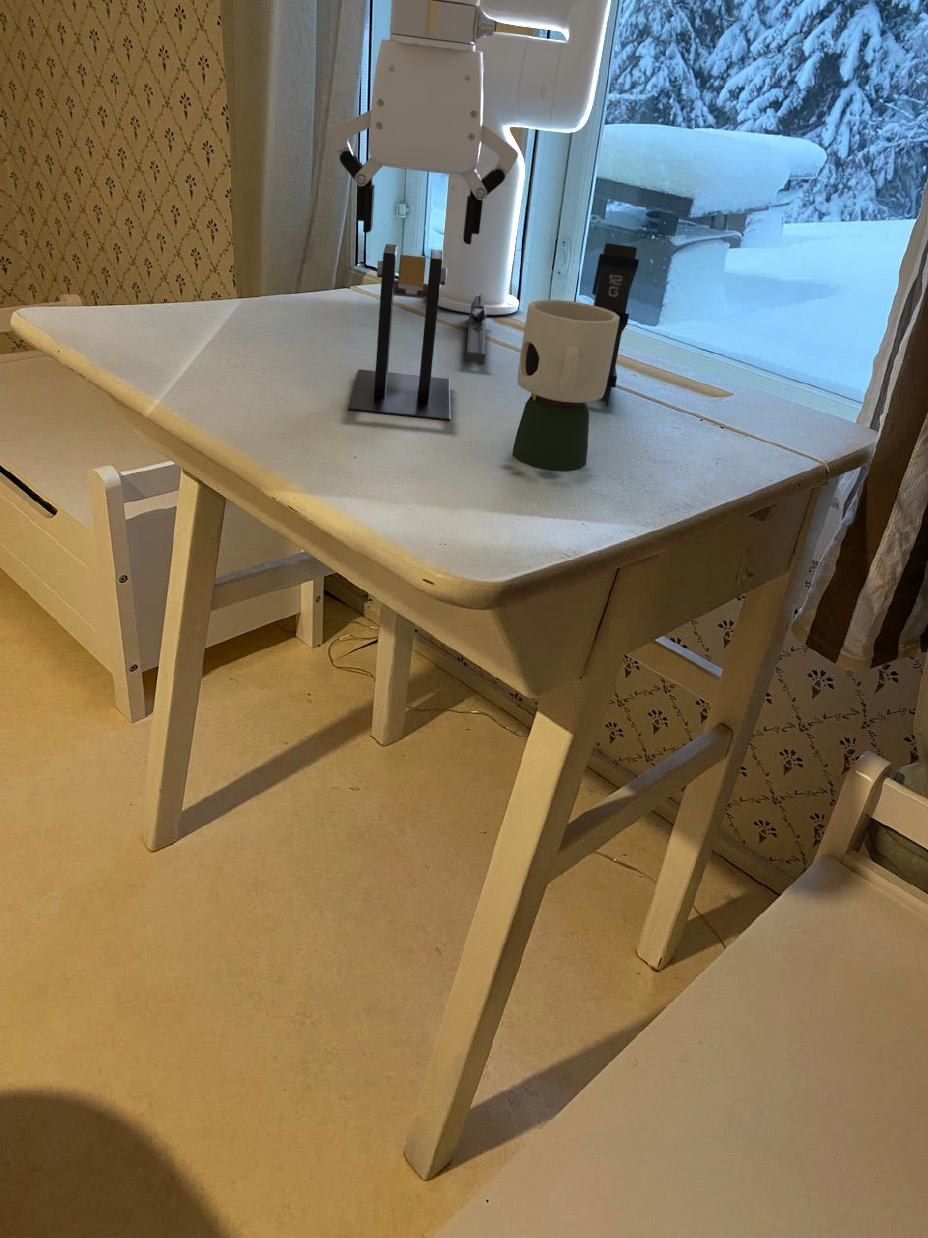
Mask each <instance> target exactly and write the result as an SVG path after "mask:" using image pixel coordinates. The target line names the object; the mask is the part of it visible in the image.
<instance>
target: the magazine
mask: <svg viewBox="0 0 928 1238" xmlns="http://www.w3.org/2000/svg"><path fill="white" fill-rule="evenodd" d="M603 247H604V248H603V252H602V253H600V254H599V256H598V260H597V267H596V270H595V271H596V272H595V276H594V281H593V286H592V292H591V295H594V299H593V304H592V305H594V306H597V307H601V308H604V309H607V310H609V311H612V312H614V313H616V314H617V315H618V316H619V317H620V318H619V325H618V330H617V335H616V340H615V345H614V350H613V355H612V360H611V365H610V370H609V375H608V380H607V386H606V389H605V393H604V395H603V397H602V399H599V400H598V401H601V402H604V403H605V406H606V407H607V408H608V406H609V401H610V398H611V397H610V396H611V391H612V388H616V385H617V380H618V375H617V368H616V367H617V366H616V365H617V360H618V356H619V350H620V344H621V340H622V339H621V338H622V335H623V332H624V330H625V328H626V327H627V326H628V323H629V317H630V313H627V307H628V301H629V296H630V291H631V288H632V286H633V282H634V280H635V277H636V273H637V271H638V268H639V264H640V263H639V262H640V259H638V258H636V257H637V253H638V252H637V251H638V248H637V247H636V246H630V245H622V244H617V243H610V242H608V243H607V242H606V243H605V244H604V246H603Z"/></svg>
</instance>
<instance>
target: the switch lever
mask: <svg viewBox="0 0 928 1238" xmlns="http://www.w3.org/2000/svg"><path fill="white" fill-rule="evenodd" d="M426 260H427V258H426V257H425V256H416V255H408V254H400V255H399V265H398V266H399V267H398V276H397V279H395V283H394V297H404V298H413V299H422V300H427V289H428V283H425V273H426V262H427V261H426ZM439 293H440V289H439ZM438 300H439V299H438Z"/></svg>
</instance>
